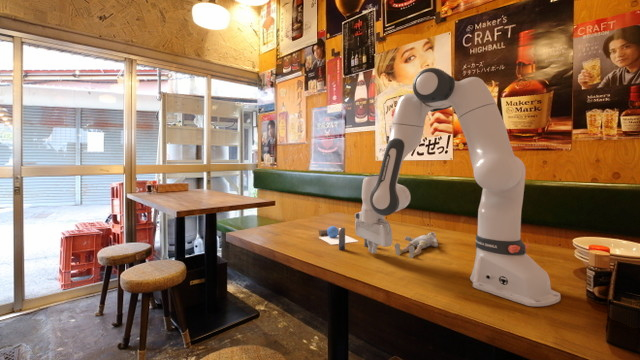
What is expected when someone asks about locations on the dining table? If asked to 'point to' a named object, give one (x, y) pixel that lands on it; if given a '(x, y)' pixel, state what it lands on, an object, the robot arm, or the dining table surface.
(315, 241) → the dining table surface
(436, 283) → the dining table surface
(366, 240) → the post right
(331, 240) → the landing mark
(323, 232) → the strip
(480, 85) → the robot arm
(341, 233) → the post left
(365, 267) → the dining table surface
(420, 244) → the figurine
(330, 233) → the ball
